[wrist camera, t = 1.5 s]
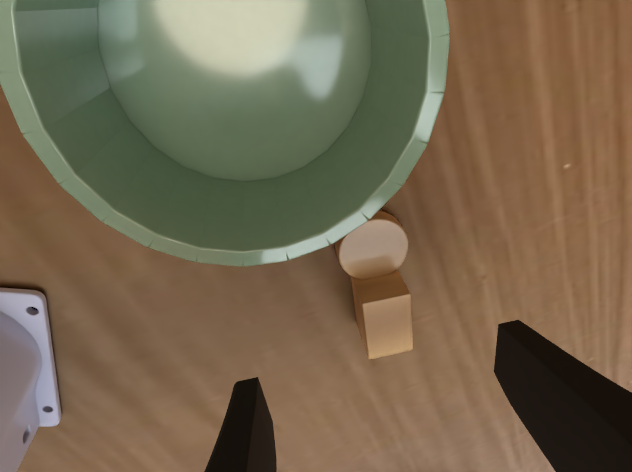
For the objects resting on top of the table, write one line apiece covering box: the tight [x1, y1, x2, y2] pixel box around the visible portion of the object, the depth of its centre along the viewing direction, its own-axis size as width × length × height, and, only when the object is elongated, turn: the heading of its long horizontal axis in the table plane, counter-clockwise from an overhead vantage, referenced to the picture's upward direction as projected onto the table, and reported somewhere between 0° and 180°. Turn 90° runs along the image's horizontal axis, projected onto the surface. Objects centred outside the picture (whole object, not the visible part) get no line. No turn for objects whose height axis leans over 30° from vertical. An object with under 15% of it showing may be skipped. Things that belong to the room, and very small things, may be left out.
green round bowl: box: [0, 0, 450, 267], centre depth 13 cm, size 11×11×6 cm
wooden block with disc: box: [335, 211, 413, 359], centre depth 21 cm, size 7×4×3 cm, turn 9°
